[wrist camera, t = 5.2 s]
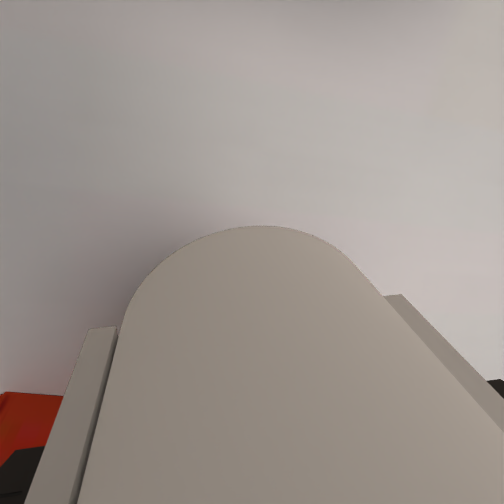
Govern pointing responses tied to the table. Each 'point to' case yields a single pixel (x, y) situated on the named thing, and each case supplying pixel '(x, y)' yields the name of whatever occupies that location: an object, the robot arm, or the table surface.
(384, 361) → the beverage can
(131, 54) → the table surface
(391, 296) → the robot arm
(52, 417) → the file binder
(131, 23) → the table surface
